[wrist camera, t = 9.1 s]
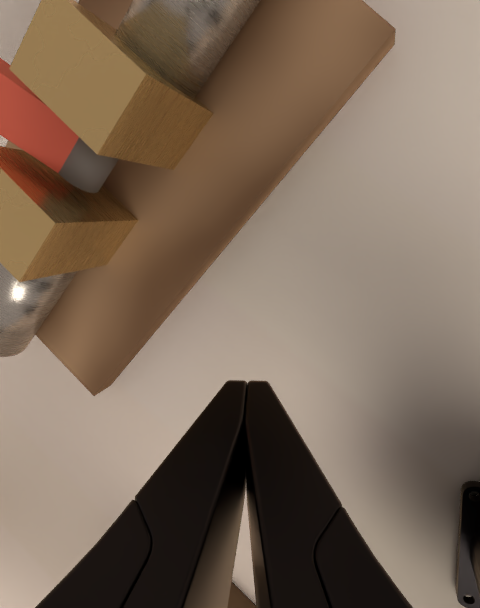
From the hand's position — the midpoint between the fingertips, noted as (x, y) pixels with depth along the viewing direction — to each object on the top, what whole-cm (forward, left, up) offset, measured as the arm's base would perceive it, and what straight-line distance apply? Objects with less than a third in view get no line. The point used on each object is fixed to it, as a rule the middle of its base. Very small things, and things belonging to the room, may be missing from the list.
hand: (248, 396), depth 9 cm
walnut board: (+7, +9, -12) cm, 16 cm away
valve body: (+7, +9, -10) cm, 15 cm away
